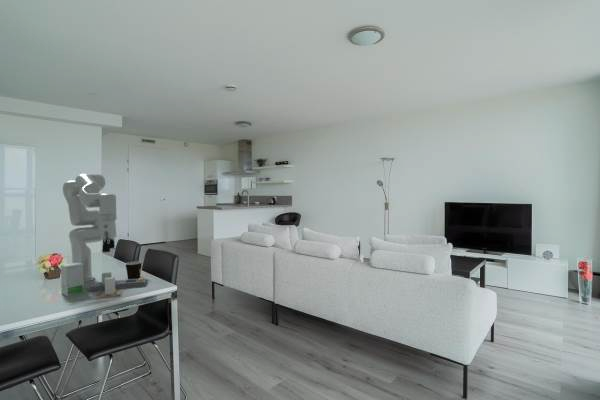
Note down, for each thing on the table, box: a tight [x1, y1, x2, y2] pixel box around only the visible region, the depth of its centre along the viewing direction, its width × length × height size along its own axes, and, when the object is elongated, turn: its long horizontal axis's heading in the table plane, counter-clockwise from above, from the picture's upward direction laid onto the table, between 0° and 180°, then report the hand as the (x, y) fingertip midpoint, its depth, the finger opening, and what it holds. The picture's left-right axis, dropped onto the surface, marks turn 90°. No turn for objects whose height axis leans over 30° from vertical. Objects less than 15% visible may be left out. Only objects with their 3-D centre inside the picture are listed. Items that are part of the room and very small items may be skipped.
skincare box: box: [60, 262, 85, 297], centre depth 166 cm, size 8×7×16 cm
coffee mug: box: [125, 260, 143, 280], centre depth 193 cm, size 12×9×10 cm
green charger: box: [101, 272, 113, 285], centre depth 174 cm, size 4×3×8 cm
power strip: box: [89, 277, 147, 292], centre depth 176 cm, size 26×8×4 cm, turn 109°
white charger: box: [104, 276, 116, 295], centre depth 164 cm, size 4×3×8 cm
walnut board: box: [95, 288, 125, 299], centre depth 164 cm, size 11×11×1 cm
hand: (108, 250), depth 166 cm, fingers open, 9 cm apart
